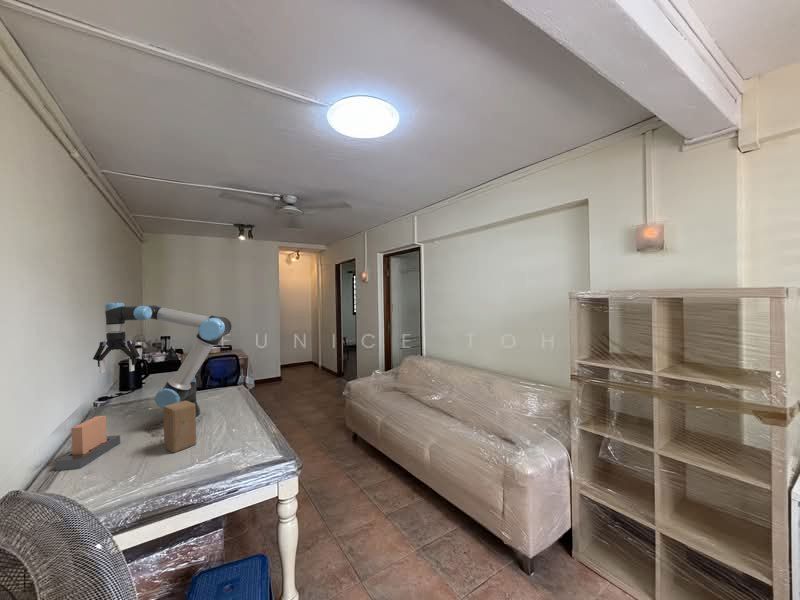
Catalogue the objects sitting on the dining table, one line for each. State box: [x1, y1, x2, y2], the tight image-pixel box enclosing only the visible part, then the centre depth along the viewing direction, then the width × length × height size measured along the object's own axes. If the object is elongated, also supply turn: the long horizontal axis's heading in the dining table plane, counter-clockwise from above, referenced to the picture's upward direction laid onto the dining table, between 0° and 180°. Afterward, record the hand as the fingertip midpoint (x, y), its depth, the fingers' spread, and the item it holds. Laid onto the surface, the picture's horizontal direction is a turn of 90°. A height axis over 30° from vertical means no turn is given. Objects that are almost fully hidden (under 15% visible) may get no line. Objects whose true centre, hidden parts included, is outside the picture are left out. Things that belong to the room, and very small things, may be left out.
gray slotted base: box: [54, 435, 121, 472], centre depth 140 cm, size 9×22×4 cm, turn 8°
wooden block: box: [162, 401, 197, 453], centre depth 148 cm, size 10×10×20 cm
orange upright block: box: [70, 415, 108, 456], centre depth 140 cm, size 4×13×14 cm, turn 8°
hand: (117, 371), depth 166 cm, fingers open, 13 cm apart
